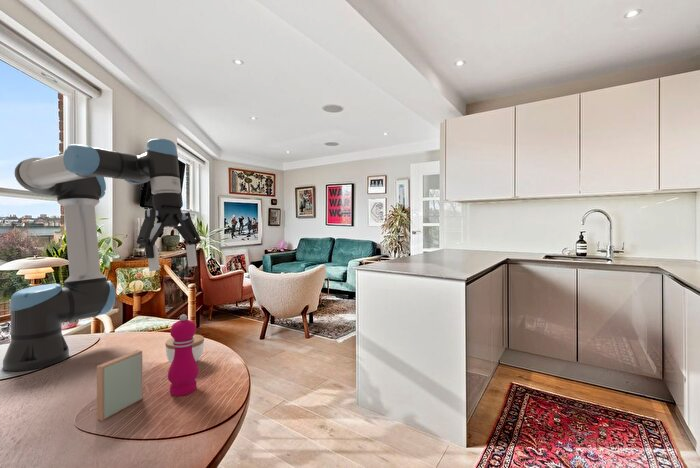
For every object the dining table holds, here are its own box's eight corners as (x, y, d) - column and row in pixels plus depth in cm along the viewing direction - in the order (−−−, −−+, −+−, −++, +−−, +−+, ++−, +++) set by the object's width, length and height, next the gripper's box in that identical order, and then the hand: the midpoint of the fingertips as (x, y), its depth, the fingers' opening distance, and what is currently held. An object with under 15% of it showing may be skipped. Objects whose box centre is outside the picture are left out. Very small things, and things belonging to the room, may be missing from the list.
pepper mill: (204, 386, 90) (204, 312, 90) (183, 399, 83) (183, 319, 83) (183, 382, 93) (183, 309, 92) (161, 394, 86) (160, 316, 85)
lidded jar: (210, 358, 109) (210, 329, 109) (191, 372, 99) (191, 341, 98) (179, 356, 110) (179, 328, 110) (157, 370, 100) (157, 339, 99)
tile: (97, 419, 74) (96, 366, 74) (137, 397, 84) (137, 350, 84) (103, 421, 74) (102, 367, 74) (143, 398, 84) (143, 351, 83)
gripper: (138, 185, 83) (146, 271, 82) (208, 197, 107) (215, 263, 105) (115, 190, 85) (123, 274, 84) (189, 201, 109) (196, 266, 108)
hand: (175, 268), depth 95 cm, fingers open, 13 cm apart
